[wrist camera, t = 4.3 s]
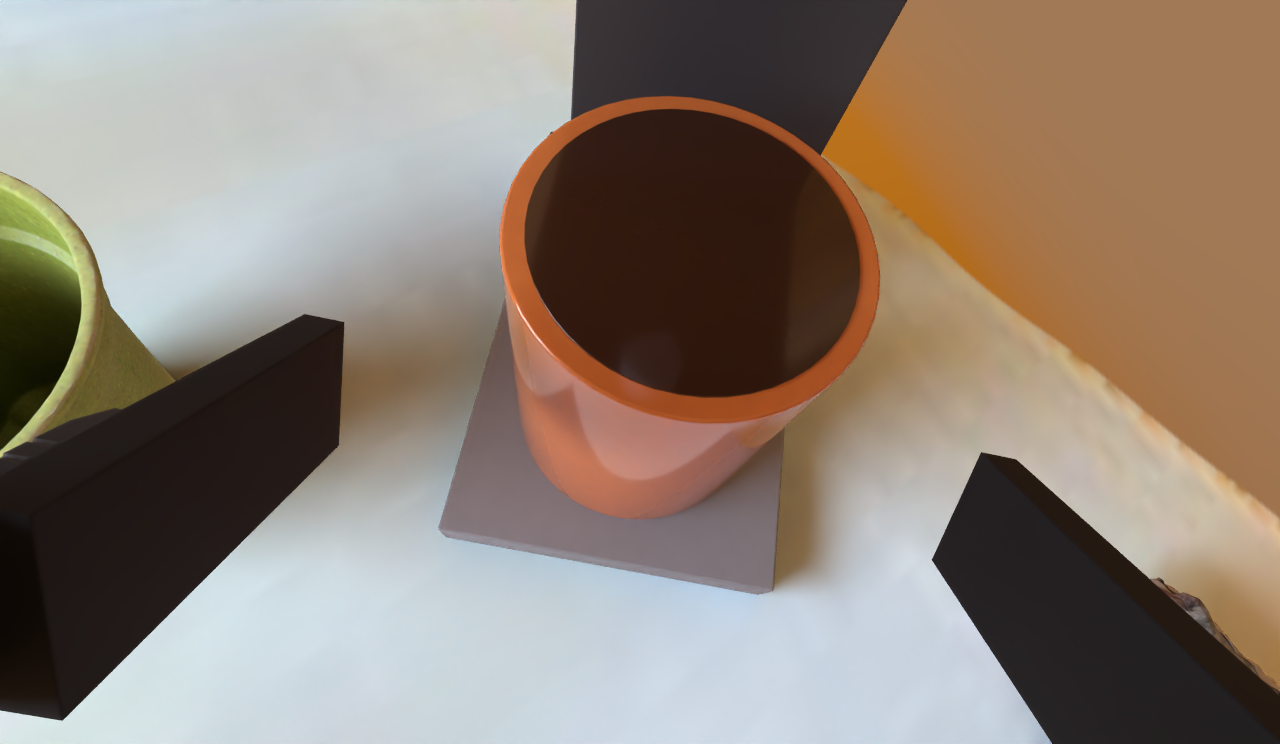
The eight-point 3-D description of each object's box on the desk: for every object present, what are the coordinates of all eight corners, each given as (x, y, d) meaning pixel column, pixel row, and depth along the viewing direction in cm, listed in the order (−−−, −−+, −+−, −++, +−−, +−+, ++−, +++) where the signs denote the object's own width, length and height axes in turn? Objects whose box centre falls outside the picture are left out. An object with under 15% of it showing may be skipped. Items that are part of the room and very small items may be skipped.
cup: (499, 322, 23) (468, 109, 14) (709, 287, 25) (804, 78, 16) (545, 546, 20) (543, 464, 11) (778, 489, 22) (944, 377, 13)
